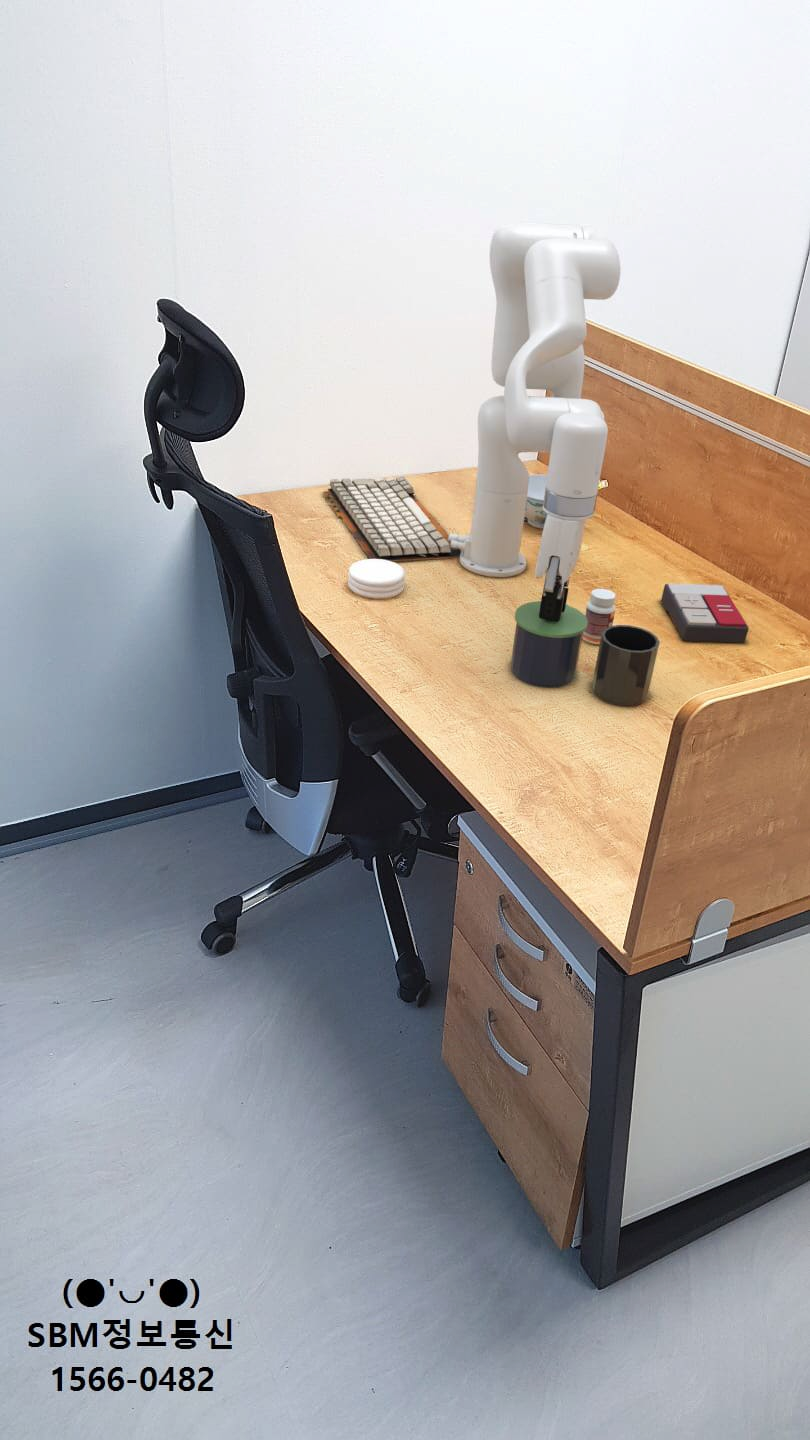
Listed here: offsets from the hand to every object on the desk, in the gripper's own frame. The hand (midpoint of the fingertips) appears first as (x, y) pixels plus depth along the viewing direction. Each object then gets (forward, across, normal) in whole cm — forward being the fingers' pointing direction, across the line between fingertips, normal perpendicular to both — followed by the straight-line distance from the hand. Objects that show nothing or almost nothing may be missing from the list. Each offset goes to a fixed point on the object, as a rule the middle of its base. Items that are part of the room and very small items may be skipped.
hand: (551, 613), depth 169 cm
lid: (+1, 0, 0) cm, 1 cm away
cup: (+10, +1, +12) cm, 16 cm away
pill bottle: (+10, -15, +6) cm, 19 cm away
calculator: (+10, -30, +22) cm, 38 cm away
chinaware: (+10, -61, -14) cm, 64 cm away
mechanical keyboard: (+10, -45, -43) cm, 63 cm away
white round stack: (+10, -16, -34) cm, 39 cm away
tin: (+10, 0, 0) cm, 10 cm away
